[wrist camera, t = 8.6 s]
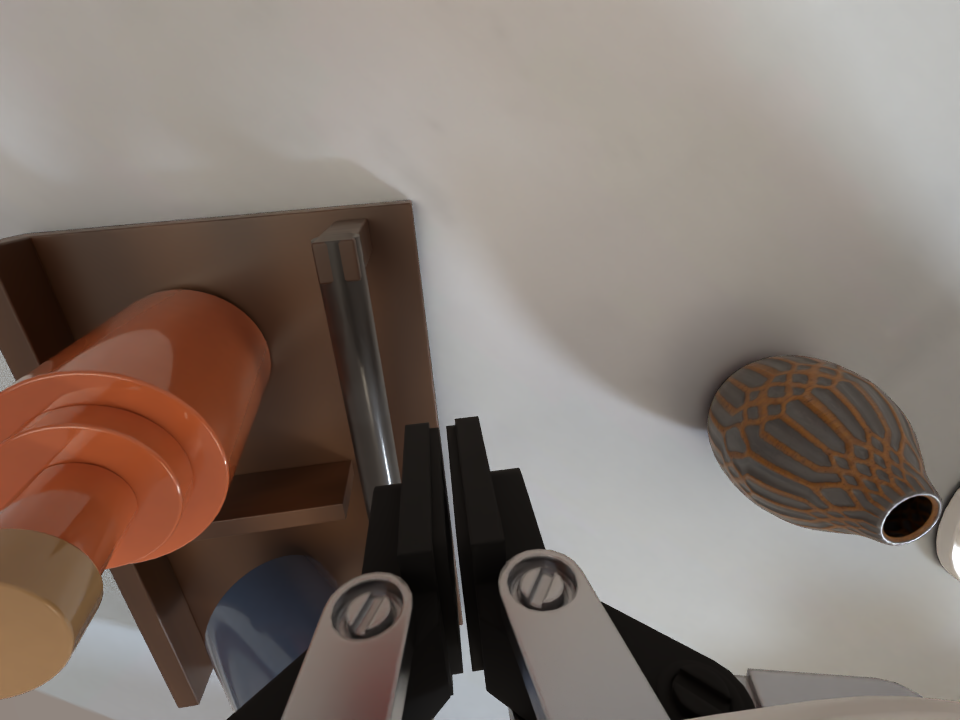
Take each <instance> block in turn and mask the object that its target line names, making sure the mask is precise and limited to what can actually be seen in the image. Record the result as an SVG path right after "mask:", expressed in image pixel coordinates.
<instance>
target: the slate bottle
mask: <svg viewBox="0 0 960 720" xmlns="http://www.w3.org/2000/svg"><path fill="white" fill-rule="evenodd" d="M340 586H341V585H340V584H339V583H338V582H337V580H336V579H335V578H334V577H333V576H332V575H331V574H330V572H329V571H328V570H327V569H326V568H325V567H324V566H323V564H322V563H321V562H319V561H318V560H316V559H314V558H312V557H309V556H305V555H287V556H282V557H279V558H275V559H272V560H270V561H267V562H265V563H263V564H261V565H259V566H257V567H256V568H254V569H253V570H251V571H249V572H248V573H247V574H245V575H244V576H243V577H241V578H240V579H239V580H238V581H237V582H236V583H235V584H234V585H233V586H232V587H231V588H230V589H229V590H228V591H227V592H226V593H225V595H224V596H223V597H222V598H221V600H220V601H219V603H218V604H217V606H216V607H215V609H214V611H213V613H212V615H211V617H210V620H209V622H208V625H207V629H206V634H205V648H206V652H207V655H208V657H209V659H210V662H211V664H212V666H213V668H214V670H215V672H216V675H217V677H218V679H219V681H220V683H221V685H222V688H223V690H224V692H225V694H226V696H227V698H228V701H229V703H230V705H231V707H232V709H233V711H234V713H235V712H236V711H237V710H238V709H239V708H240V707H242V706H243V705H244V704H245V703H246V702H247V701H248V700H250V699H251V698H252V697H253V696H254V695H255V694H256V693H258V692H259V691H260V690H261V689H262V688H263V687H264V686H266V685H267V684H268V683H269V682H270V681H271V680H272V679H274V678H275V677H276V676H277V675H278V674H279V673H280V672H282V671H283V670H284V669H285V668H286V667H287V666H288V665H290V664H291V663H292V662H293V661H294V660H295V659H296V658H298V657H299V656H300V655H301V654H302V653H303V652H304V651H306V650H307V649H308V648H309V645H310V643H311V640H312V637H313V635H314V632H315V630H316V627H317V624H318V622H319V619H320V617H321V614H322V611H323V609H324V607H325V605H326V603H327V601H328V600H329V598H330V596H331V595H332V594H333V593H334V592H335V591H336V590H337V589H338V588H339V587H340Z"/></svg>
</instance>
